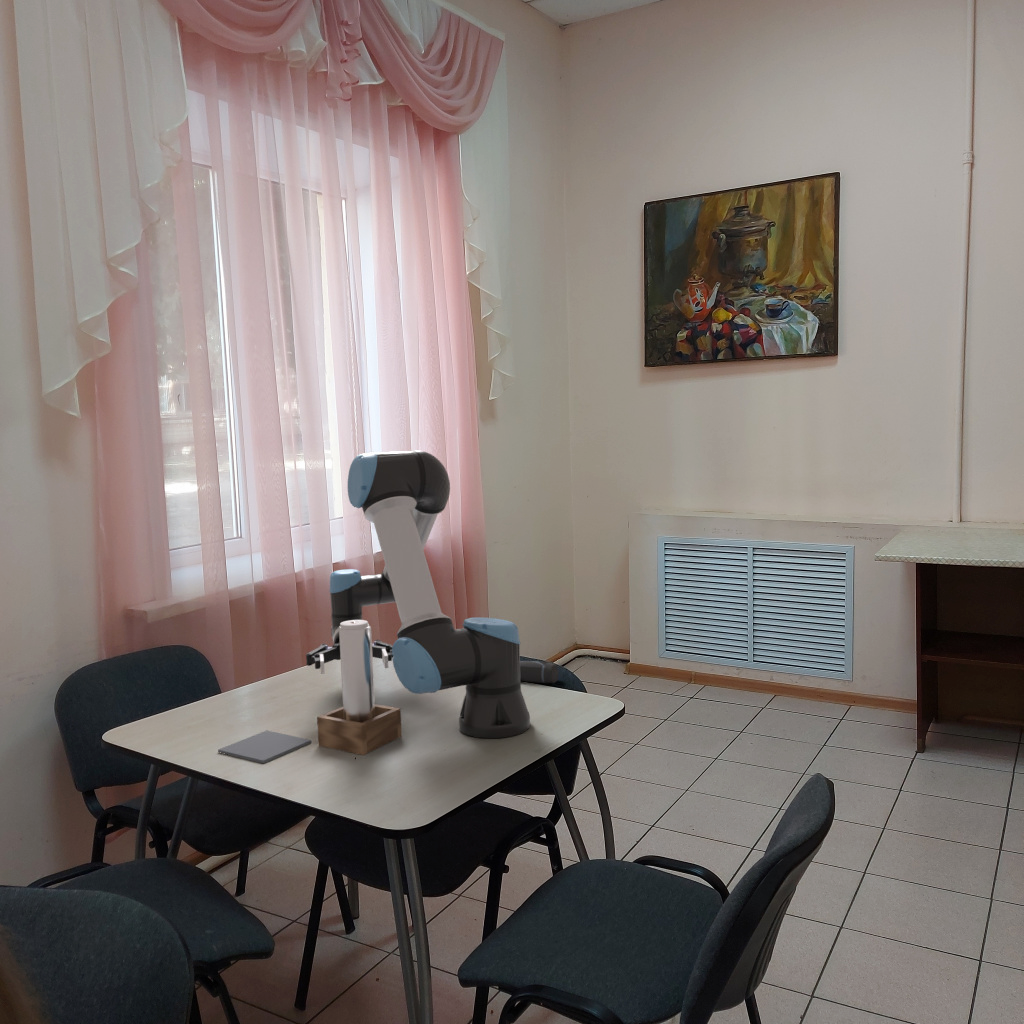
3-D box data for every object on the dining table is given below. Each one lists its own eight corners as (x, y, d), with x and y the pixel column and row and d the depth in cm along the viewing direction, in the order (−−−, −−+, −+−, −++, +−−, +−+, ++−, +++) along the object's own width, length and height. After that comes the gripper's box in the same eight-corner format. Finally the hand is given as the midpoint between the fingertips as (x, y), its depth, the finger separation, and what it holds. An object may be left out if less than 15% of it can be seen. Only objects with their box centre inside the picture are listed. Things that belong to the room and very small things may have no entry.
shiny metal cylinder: (370, 747, 185) (364, 625, 183) (339, 745, 187) (333, 625, 184) (380, 736, 192) (375, 618, 189) (351, 735, 193) (345, 618, 190)
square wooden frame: (401, 736, 191) (400, 708, 190) (363, 755, 181) (361, 725, 180) (358, 728, 197) (356, 700, 197) (318, 745, 187) (317, 716, 187)
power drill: (535, 699, 215) (459, 691, 224) (563, 678, 232) (492, 671, 241) (534, 676, 215) (458, 670, 223) (563, 657, 232) (492, 651, 240)
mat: (311, 742, 189) (311, 739, 189) (263, 763, 178) (263, 760, 178) (266, 733, 196) (266, 730, 196) (218, 752, 185) (218, 749, 185)
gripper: (402, 653, 221) (413, 676, 200) (296, 662, 216) (296, 687, 195) (401, 622, 220) (411, 642, 200) (294, 630, 215) (294, 652, 194)
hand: (354, 664), depth 197 cm, fingers open, 13 cm apart
